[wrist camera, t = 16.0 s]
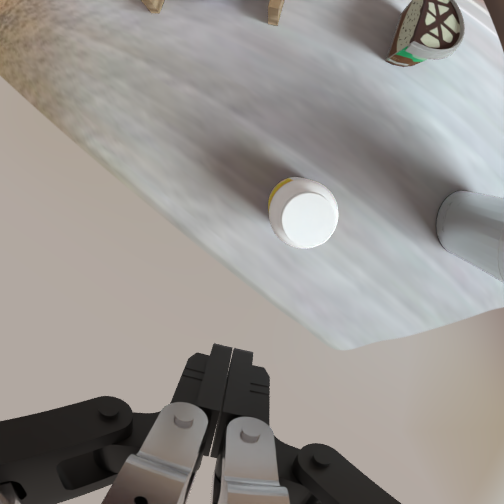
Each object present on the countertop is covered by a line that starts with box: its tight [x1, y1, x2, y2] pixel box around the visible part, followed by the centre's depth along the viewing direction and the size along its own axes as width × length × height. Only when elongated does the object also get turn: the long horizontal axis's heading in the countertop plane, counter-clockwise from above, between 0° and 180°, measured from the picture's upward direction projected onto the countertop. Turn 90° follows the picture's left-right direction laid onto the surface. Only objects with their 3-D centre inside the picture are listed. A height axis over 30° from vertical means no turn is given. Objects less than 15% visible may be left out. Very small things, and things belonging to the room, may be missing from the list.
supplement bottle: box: [268, 177, 338, 249], centre depth 32 cm, size 7×7×13 cm
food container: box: [385, 0, 465, 67], centre depth 27 cm, size 12×6×10 cm, turn 158°
